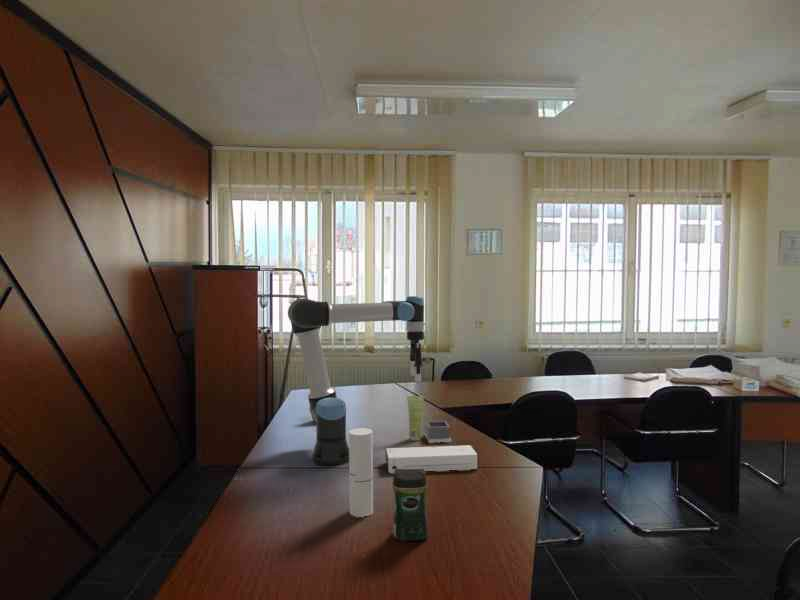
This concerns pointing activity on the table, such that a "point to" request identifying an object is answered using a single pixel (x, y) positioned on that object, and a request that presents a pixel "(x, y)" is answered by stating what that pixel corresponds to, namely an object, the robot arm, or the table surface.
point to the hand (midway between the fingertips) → (415, 378)
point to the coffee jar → (410, 505)
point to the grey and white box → (437, 431)
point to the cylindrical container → (361, 472)
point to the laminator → (432, 458)
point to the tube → (415, 416)
